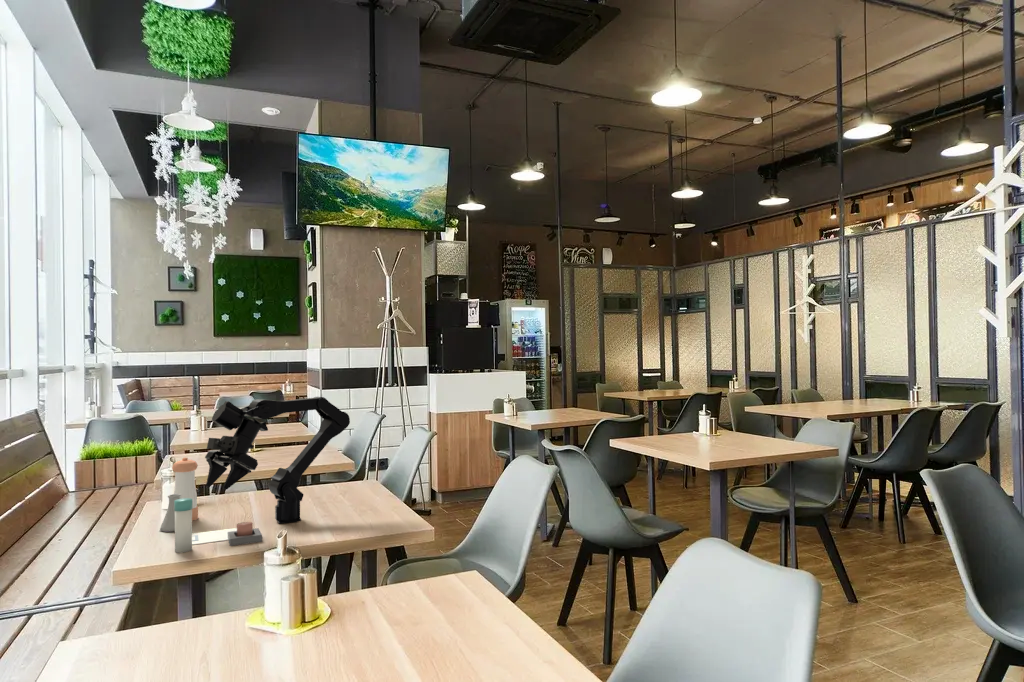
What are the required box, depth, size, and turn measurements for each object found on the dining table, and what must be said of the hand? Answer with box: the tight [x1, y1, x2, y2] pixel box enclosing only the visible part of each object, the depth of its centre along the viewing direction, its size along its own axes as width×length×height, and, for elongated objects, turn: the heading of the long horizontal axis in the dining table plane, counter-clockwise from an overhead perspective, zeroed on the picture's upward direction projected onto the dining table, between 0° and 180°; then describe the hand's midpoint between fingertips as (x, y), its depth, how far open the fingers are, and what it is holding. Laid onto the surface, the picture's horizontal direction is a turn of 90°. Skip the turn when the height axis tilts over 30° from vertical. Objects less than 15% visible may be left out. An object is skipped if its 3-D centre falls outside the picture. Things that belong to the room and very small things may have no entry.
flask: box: [159, 493, 181, 532], centre depth 190 cm, size 7×7×10 cm
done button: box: [236, 521, 254, 537], centre depth 178 cm, size 4×4×3 cm
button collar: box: [227, 527, 263, 547], centre depth 178 cm, size 8×8×2 cm
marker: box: [174, 498, 193, 554], centre depth 169 cm, size 4×4×13 cm
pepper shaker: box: [171, 457, 199, 522], centre depth 201 cm, size 7×7×19 cm
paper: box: [192, 527, 237, 546], centre depth 181 cm, size 17×12×1 cm
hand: (216, 487), depth 182 cm, fingers open, 9 cm apart
